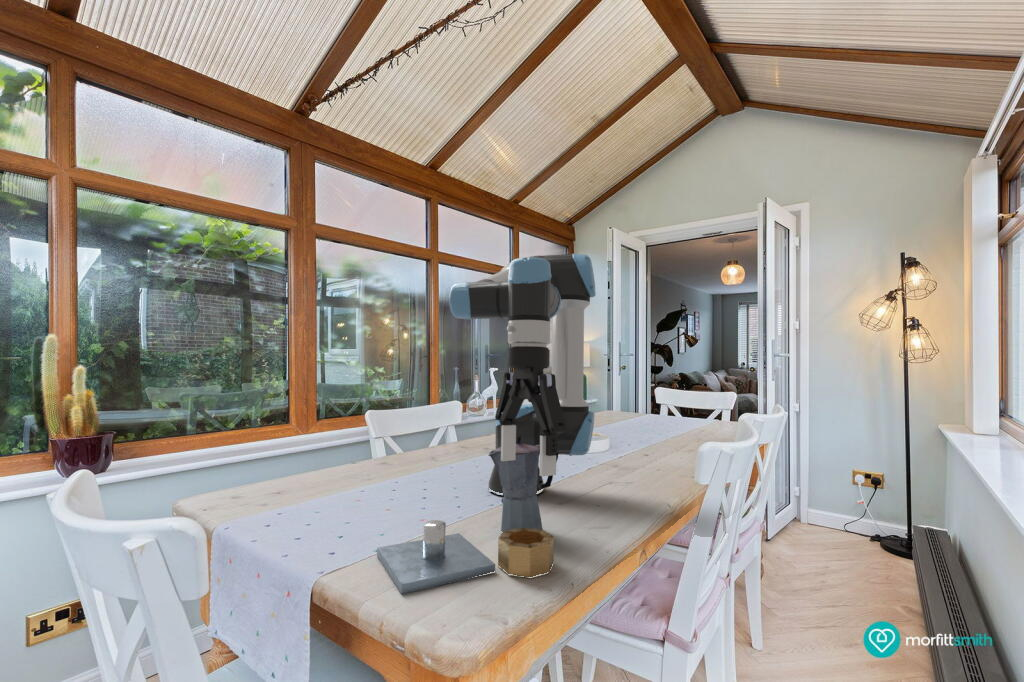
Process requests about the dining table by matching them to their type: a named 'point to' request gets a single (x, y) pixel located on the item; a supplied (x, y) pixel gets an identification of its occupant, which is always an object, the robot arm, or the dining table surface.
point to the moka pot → (520, 486)
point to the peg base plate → (433, 560)
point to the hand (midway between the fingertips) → (526, 467)
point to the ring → (526, 551)
